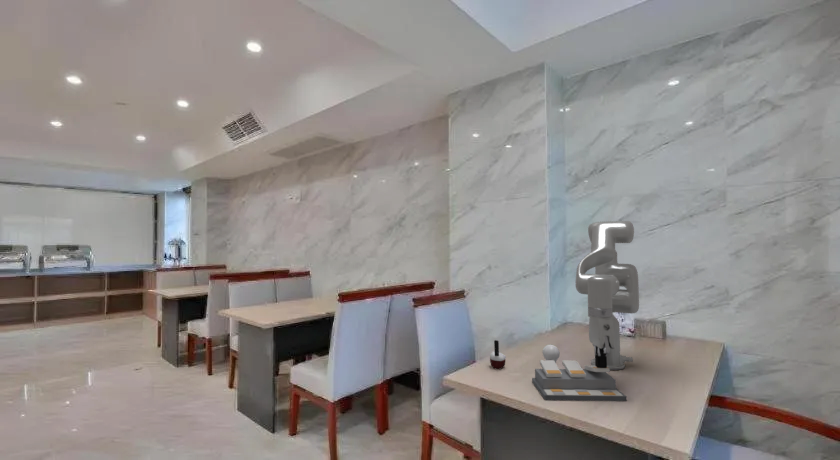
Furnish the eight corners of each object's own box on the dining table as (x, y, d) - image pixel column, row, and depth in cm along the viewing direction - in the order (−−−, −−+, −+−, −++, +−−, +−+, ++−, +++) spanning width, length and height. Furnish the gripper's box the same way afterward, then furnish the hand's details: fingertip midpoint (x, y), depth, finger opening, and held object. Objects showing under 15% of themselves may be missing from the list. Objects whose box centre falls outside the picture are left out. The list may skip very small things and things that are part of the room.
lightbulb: (559, 371, 151) (559, 343, 151) (560, 376, 145) (559, 347, 145) (543, 369, 153) (542, 341, 153) (542, 374, 147) (542, 346, 147)
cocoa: (495, 364, 161) (495, 335, 162) (509, 366, 157) (508, 337, 158) (484, 369, 154) (484, 338, 155) (499, 372, 150) (498, 340, 151)
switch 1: (553, 363, 138) (553, 359, 138) (561, 377, 129) (562, 373, 129) (539, 363, 138) (539, 359, 138) (546, 377, 129) (547, 373, 129)
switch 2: (576, 363, 138) (576, 360, 137) (585, 377, 129) (586, 373, 129) (562, 363, 138) (562, 359, 138) (570, 377, 129) (571, 373, 129)
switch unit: (604, 382, 138) (604, 368, 139) (626, 401, 122) (626, 385, 123) (532, 382, 139) (531, 368, 140) (544, 400, 123) (544, 384, 124)
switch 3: (598, 369, 137) (598, 364, 138) (609, 372, 129) (609, 367, 129) (584, 368, 137) (584, 364, 138) (594, 371, 129) (594, 367, 129)
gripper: (621, 316, 123) (623, 374, 122) (601, 309, 138) (602, 360, 137) (598, 316, 123) (599, 374, 122) (580, 309, 138) (581, 360, 137)
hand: (601, 367), depth 129 cm, fingers closed
